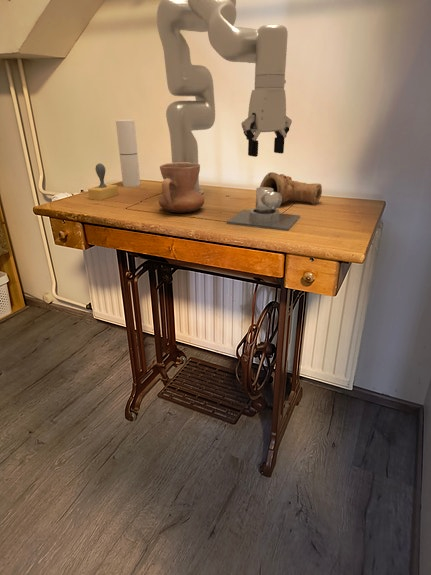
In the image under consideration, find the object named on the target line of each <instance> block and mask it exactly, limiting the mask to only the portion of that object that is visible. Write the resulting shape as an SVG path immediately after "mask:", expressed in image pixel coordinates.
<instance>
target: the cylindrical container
mask: <svg viewBox="0 0 431 575" xmlns="http://www.w3.org/2000/svg"><path fill="white" fill-rule="evenodd" d="M135 124H136V123H135V119H116V120H115V126H116V133H117V134H116V135H117V144H118V152H119V154H118V155H119V162H120V170H121V179H122V186H123V187H125V188H126V187H127V188H129V187H131V188H132V187H134V188H135V187H138V186H141V176H140V167H139V166H140V165H139V156H138V155H139V154H138V144H137V136H136V125H135Z"/></svg>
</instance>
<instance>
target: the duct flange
mask: <svg viewBox="0 0 431 575" xmlns="http://www.w3.org/2000/svg"><path fill="white" fill-rule="evenodd" d="M300 218H301V215H298V214H292V213H291V214H290V213H289V214H288V213H280V210H279V209H278V208H276V209H273V208H272V213H271V214H259V213H256V207H254V208H250V209H249V210H248V209H242V210H241V211H240V212H238V213H237V214H235V215H234V216H232V217H231V218H229V219H228V220H226V224H227V225H237V226H245V227H252V228H253V227H255V228H261V229H262V228H263V229H270V230H271V229H272V230H279V231H290V229H291V228H292V227H293V226H294V225H295V224H296V223H297V222H298V220H299V219H300Z"/></svg>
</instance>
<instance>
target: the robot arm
mask: <svg viewBox="0 0 431 575" xmlns="http://www.w3.org/2000/svg"><path fill="white" fill-rule="evenodd" d="M236 5H237V0H160V1H159V3H158V7H157V10H156V11H157V12H156V27H157V32H158V36H159V38H160V41H161V46H162V50H163V58H164V65H165V66H164V67H165V75H166V77H165V78H166V83H167V88H168V91H169V93H170V94H171V95H172V96H174V97H194V98H195V100H176V101H173V102H171V103H170V104H169V105H168V106H167V108H166V112H165V118H166V122H167V127H168V132H169V139H170V150H171V151H170V153H171V154H170V155H171V163H176V162H190V163H191V164H192V163H198V164H199V148H198V147H199V146H198V141H197V139H196V137H195V135H194V134H193V131H204V130H209V129H212V127H213V126H214V124H215V122H216V121H215V120H216V104H215V103H216V102H215V92H214V90H215V89H214V80H213V76H212V73H211V71H210V69H209V68H207V66H205V65H201V64H192V60H191V52H190V47H189V44H188V42H187V40H186V38H185V37H184V35H183V34H182V32H181V31H186V32H197V33H198V32H199V33H207V35H208V41H209V44H210V46H211V47H212V48H213V49H214V51H215V52H216V53H217V54H218V55H219V56H220V57H221V58H223V59H224V60H226V61H228V62H232V63H248V64H255V67H254V68H255V69H254V89H252V90H251V93H250V98H249V104H248V105H249V106H248V112H247V113H248V114H247V118H246V119H244V120H242V122H241V128H242V131H243V134H244V136H245V137H246V140H247V141H248V143H247V144H248V145H247V155H248V156H249V157H256V158H257V157H258V156H259V140H258V138H259V136H260V134H261V133H273V132H274V134H275V136H276V137H274V142H273V144H274V145H273V153H275V154H281V155H282V154H284V151H285V150H284V149H285V139H286V138H287V134H288V133H289V131H290V127H291V125H292V122H293V120H292V119H291V118H290V117H289V116H287V97H286V95H287V94H286V89H285V84H286V81H287V80H286V67H287V66H286V65H287V51H288V50H287V49H288V38H289V37H288V36H289V34H288V32H289V31H288V29H287V27H286V26H285V25H281V24H265V25H262V26H260V27H258V28H251V27H250V28H249V27H242V26H234V25H235V22H236V20H237V8H236ZM199 178H200V176H198V179H197V182H196V184H195V187H194V189H195V190H196V191H198V192H199V193H201V194H202V195H203V196H204V190H203V189H200V180H199Z"/></svg>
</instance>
